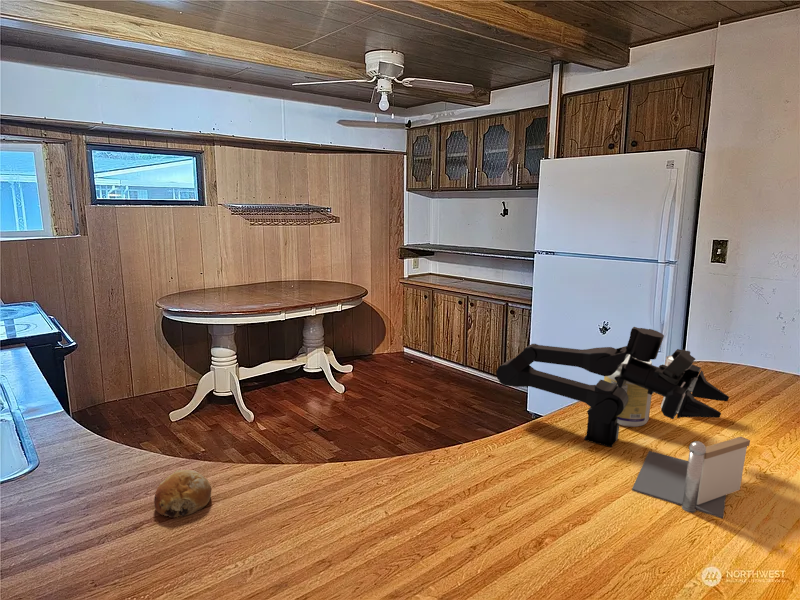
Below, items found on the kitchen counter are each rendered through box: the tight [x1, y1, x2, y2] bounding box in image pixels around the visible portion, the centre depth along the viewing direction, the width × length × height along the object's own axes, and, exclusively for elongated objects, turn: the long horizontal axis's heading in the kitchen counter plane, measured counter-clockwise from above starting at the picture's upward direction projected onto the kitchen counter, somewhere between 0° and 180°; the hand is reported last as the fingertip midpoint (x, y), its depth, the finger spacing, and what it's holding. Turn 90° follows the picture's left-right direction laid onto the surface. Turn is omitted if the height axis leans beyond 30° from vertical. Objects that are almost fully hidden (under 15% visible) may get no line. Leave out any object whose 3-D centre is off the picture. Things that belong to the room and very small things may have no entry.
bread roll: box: [153, 469, 212, 518], centre depth 99 cm, size 10×10×8 cm
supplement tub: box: [603, 354, 653, 428], centre depth 140 cm, size 12×12×17 cm
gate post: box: [681, 440, 706, 514], centre depth 99 cm, size 3×3×14 cm
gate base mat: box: [631, 450, 727, 519], centre depth 110 cm, size 16×20×1 cm
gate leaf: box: [697, 436, 751, 505], centre depth 103 cm, size 13×2×11 cm, turn 116°
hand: (724, 407), depth 111 cm, fingers open, 9 cm apart
